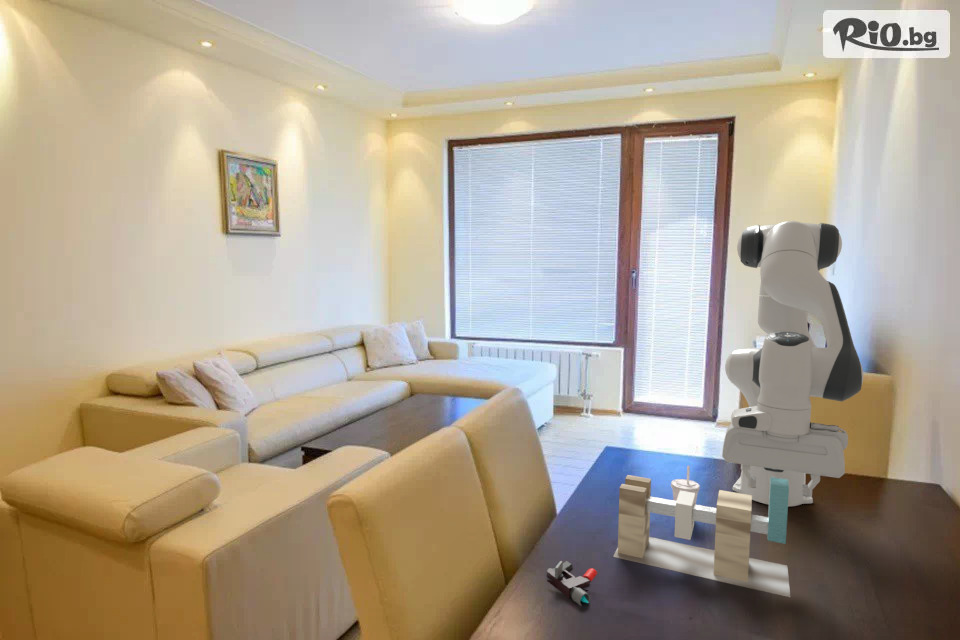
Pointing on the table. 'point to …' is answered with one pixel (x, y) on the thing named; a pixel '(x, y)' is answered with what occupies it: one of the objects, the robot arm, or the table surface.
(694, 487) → the smoothie
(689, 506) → the collar
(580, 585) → the toy gun
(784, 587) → the stand
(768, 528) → the shaft
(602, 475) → the table surface
